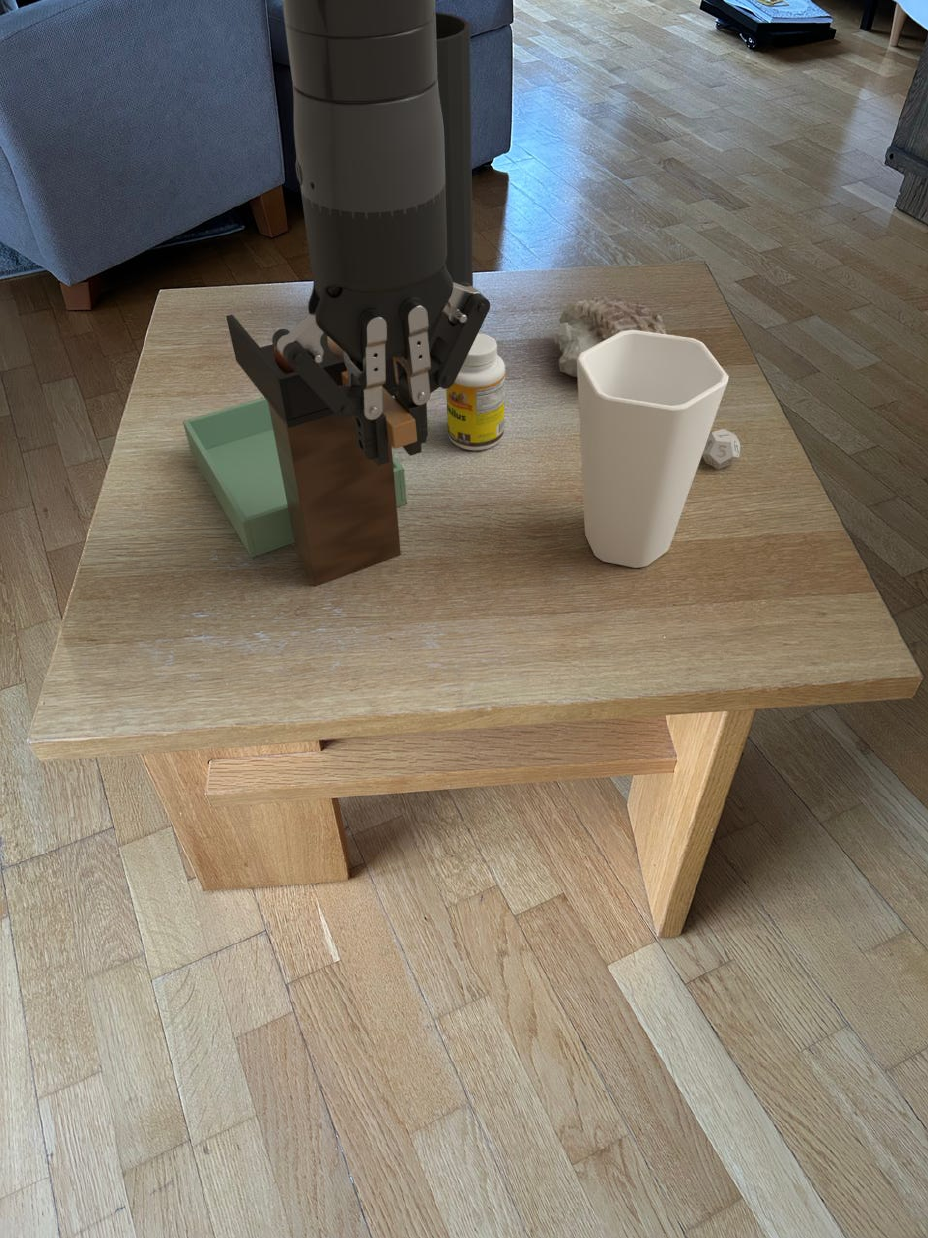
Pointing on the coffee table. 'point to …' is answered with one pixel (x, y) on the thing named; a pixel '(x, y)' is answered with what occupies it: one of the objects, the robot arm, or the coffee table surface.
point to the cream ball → (335, 348)
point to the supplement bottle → (478, 398)
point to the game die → (721, 449)
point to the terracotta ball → (282, 363)
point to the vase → (456, 142)
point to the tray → (250, 473)
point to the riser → (336, 497)
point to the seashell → (599, 326)
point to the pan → (298, 397)
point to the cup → (642, 438)
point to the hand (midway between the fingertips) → (394, 452)
